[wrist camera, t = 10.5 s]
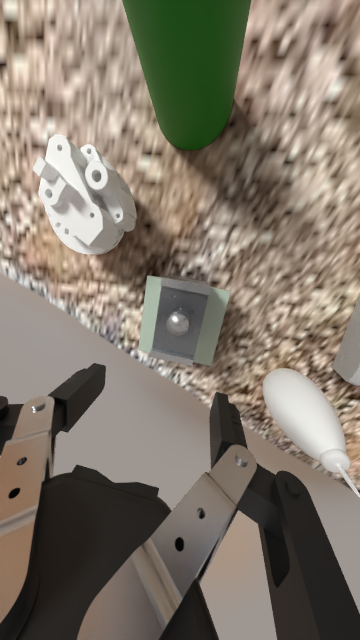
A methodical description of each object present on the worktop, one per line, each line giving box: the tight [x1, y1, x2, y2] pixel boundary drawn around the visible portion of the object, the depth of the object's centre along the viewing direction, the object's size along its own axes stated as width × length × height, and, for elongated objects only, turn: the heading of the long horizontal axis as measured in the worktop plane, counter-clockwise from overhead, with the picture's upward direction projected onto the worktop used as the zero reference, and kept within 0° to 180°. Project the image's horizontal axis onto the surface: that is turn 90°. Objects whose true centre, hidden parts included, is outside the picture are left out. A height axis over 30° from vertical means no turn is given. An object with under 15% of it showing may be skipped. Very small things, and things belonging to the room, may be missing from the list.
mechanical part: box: [33, 134, 137, 255], centre depth 23 cm, size 11×12×12 cm
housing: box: [150, 275, 211, 366], centre depth 22 cm, size 5×9×8 cm, turn 169°
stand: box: [139, 275, 230, 366], centre depth 29 cm, size 12×12×5 cm
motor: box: [122, 0, 251, 150], centre depth 14 cm, size 10×9×20 cm
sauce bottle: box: [263, 368, 360, 497], centre depth 24 cm, size 8×8×18 cm
